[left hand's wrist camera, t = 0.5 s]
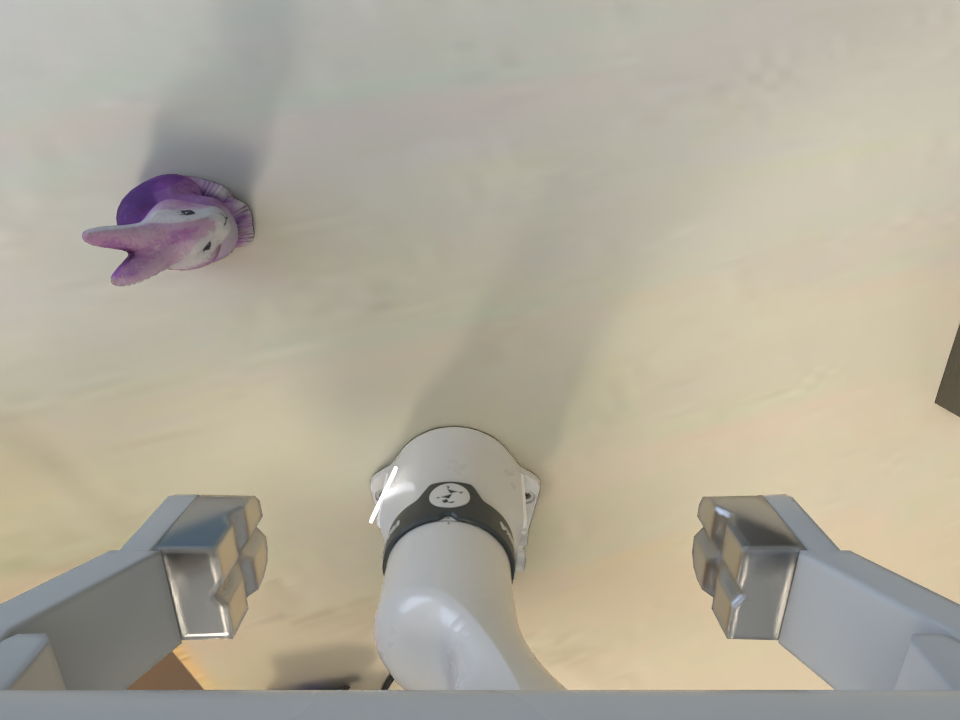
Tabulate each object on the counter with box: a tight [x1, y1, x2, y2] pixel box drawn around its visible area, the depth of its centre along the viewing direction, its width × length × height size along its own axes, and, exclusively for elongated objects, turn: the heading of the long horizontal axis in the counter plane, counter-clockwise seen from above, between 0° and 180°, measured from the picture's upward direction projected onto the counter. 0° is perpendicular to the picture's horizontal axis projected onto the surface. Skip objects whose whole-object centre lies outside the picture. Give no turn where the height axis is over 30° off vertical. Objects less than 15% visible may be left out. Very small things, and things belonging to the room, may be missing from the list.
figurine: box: [82, 174, 254, 286], centre depth 46 cm, size 9×10×15 cm
